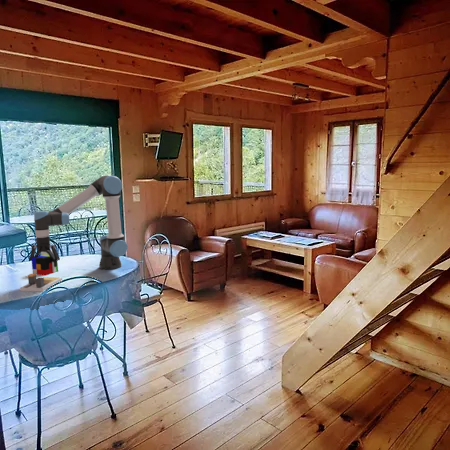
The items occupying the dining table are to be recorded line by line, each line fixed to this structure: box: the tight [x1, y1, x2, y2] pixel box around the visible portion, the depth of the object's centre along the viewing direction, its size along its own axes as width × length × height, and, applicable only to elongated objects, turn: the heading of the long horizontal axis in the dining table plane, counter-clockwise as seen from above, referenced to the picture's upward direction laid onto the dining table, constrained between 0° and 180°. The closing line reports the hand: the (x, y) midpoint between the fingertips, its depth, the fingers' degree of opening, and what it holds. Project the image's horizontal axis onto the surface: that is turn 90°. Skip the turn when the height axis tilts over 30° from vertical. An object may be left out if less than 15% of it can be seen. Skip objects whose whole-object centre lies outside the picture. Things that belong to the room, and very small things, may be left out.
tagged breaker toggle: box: [27, 273, 37, 284], centre depth 229 cm, size 3×3×5 cm
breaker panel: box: [19, 276, 63, 292], centre depth 232 cm, size 14×21×2 cm, turn 174°
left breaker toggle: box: [36, 277, 44, 287], centre depth 223 cm, size 3×3×4 cm
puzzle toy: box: [31, 254, 59, 277], centre depth 235 cm, size 10×10×10 cm
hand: (45, 271), depth 235 cm, fingers closed on puzzle toy, 11 cm apart
